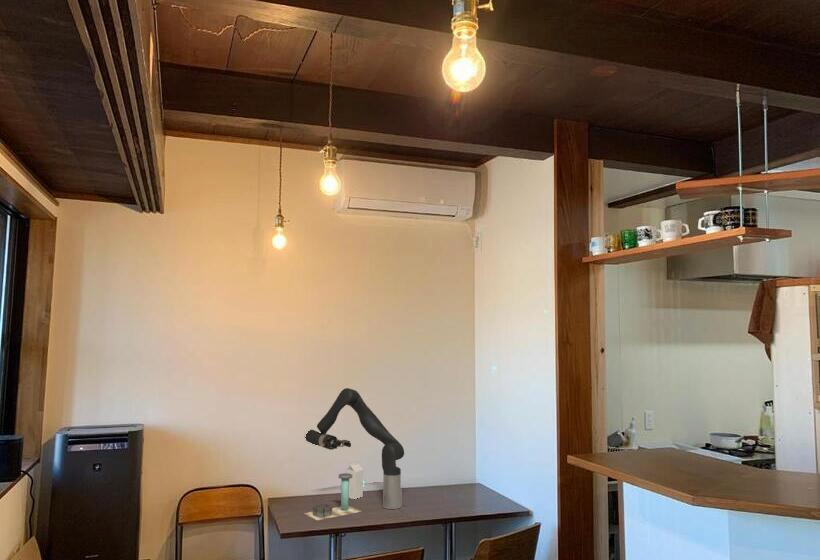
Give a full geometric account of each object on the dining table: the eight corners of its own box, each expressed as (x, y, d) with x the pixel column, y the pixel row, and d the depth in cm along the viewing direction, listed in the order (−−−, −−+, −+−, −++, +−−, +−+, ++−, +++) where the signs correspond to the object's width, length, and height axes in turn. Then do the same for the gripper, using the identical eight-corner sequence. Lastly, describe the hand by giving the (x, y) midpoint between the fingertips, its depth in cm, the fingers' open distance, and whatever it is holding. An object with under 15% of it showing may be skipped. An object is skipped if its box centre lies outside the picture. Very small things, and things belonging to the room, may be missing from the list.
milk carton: (362, 497, 341) (363, 462, 343) (354, 499, 335) (355, 464, 337) (352, 495, 345) (353, 461, 347) (344, 497, 339) (345, 463, 341)
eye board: (347, 508, 319) (347, 497, 319) (362, 514, 308) (362, 503, 308) (303, 516, 303) (303, 505, 304) (316, 523, 292) (317, 511, 293)
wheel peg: (346, 506, 315) (347, 472, 316) (354, 509, 309) (354, 475, 311) (335, 508, 311) (336, 474, 312) (342, 512, 305) (343, 477, 307)
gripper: (316, 435, 331) (332, 439, 318) (339, 433, 340) (354, 437, 327) (316, 449, 330) (331, 454, 318) (339, 447, 339) (354, 451, 326)
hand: (343, 445), depth 322 cm, fingers open, 8 cm apart
